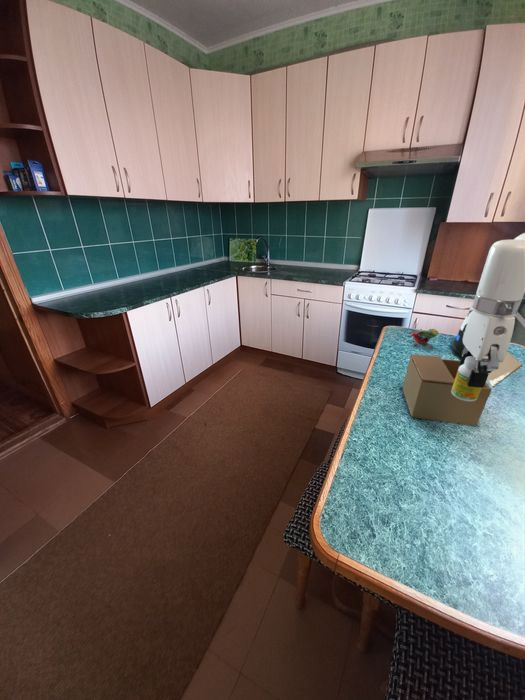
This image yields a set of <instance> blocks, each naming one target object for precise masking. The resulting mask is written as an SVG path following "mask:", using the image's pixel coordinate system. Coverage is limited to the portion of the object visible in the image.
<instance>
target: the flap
mask: <svg viewBox="0 0 525 700" xmlns="http://www.w3.org/2000/svg"><path fill="white" fill-rule="evenodd" d="M483 358H487V359H488V356H485V357H484V356H483ZM498 365H499V367H498V369H497V370H494V371H492V372H491V373H490V374H489V375H488V378H487V380H486V382H487V383H489V385H490V387H492V388H495V387H496V386H497V385H499V384H500V383H502V382H503V381H504V380H506V379H507V378H508V377H510V376H511V375H513V374H514V373H515V372H517V370H520V368H521V367H523V364H522V363H521V362H520V361H519V360H518V358H517V359H516V357H515V356H513V355H512V354H511V353H510V351H508V350H507V353H506V356H505V358H504V360H503V362H498Z"/></svg>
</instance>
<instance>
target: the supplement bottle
mask: <svg viewBox="0 0 525 700" xmlns="http://www.w3.org/2000/svg"><path fill="white" fill-rule="evenodd" d="M475 361H476V358H475V357H474V356H468V357H466V359H465V361H464V364H463V365H461V366H460V367H459V369H458V372H457V375H456V378H455V381H454V384H453V387H452V390H451V392H452V394H453V395H454V396H455V397H456V398H458V399H460V400H464V401H475V400H477V398H478V396H479V393H480V391H481V388H480V387H469V386H468V385H467V382H468V379H469V376H470V374H471V371H472V370H474V367H475ZM486 364H487V362H481V364H480V366H482V365H486Z"/></svg>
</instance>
